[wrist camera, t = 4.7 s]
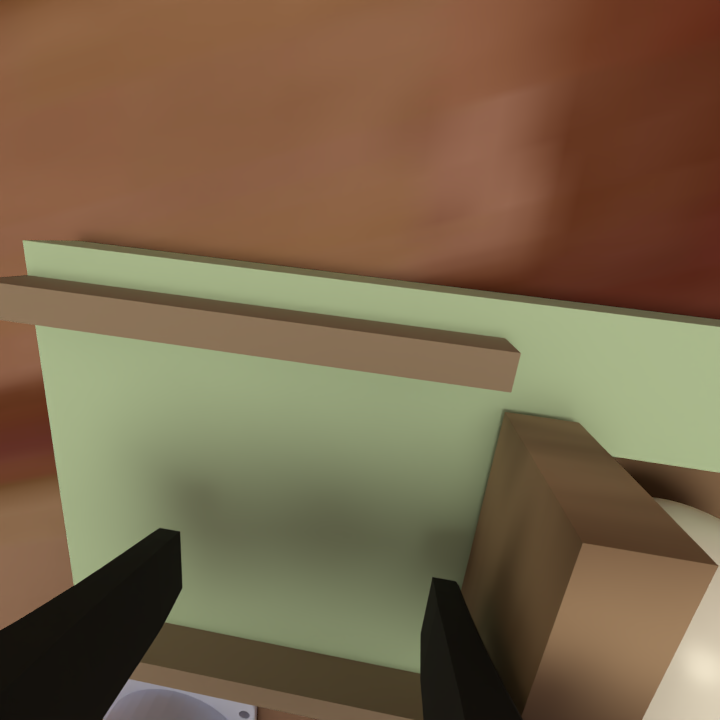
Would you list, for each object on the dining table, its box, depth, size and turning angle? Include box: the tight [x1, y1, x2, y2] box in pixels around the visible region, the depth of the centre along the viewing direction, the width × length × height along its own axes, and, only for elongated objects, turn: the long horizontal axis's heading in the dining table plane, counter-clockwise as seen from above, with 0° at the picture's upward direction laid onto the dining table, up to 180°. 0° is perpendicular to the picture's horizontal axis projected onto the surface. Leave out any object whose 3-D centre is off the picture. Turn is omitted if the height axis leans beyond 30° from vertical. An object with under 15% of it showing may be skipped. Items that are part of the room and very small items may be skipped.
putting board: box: [0, 240, 720, 720], centre depth 13 cm, size 16×26×4 cm, turn 84°
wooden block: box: [461, 412, 718, 720], centre depth 10 cm, size 10×2×5 cm, turn 174°
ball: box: [642, 497, 720, 720], centre depth 11 cm, size 6×6×6 cm
